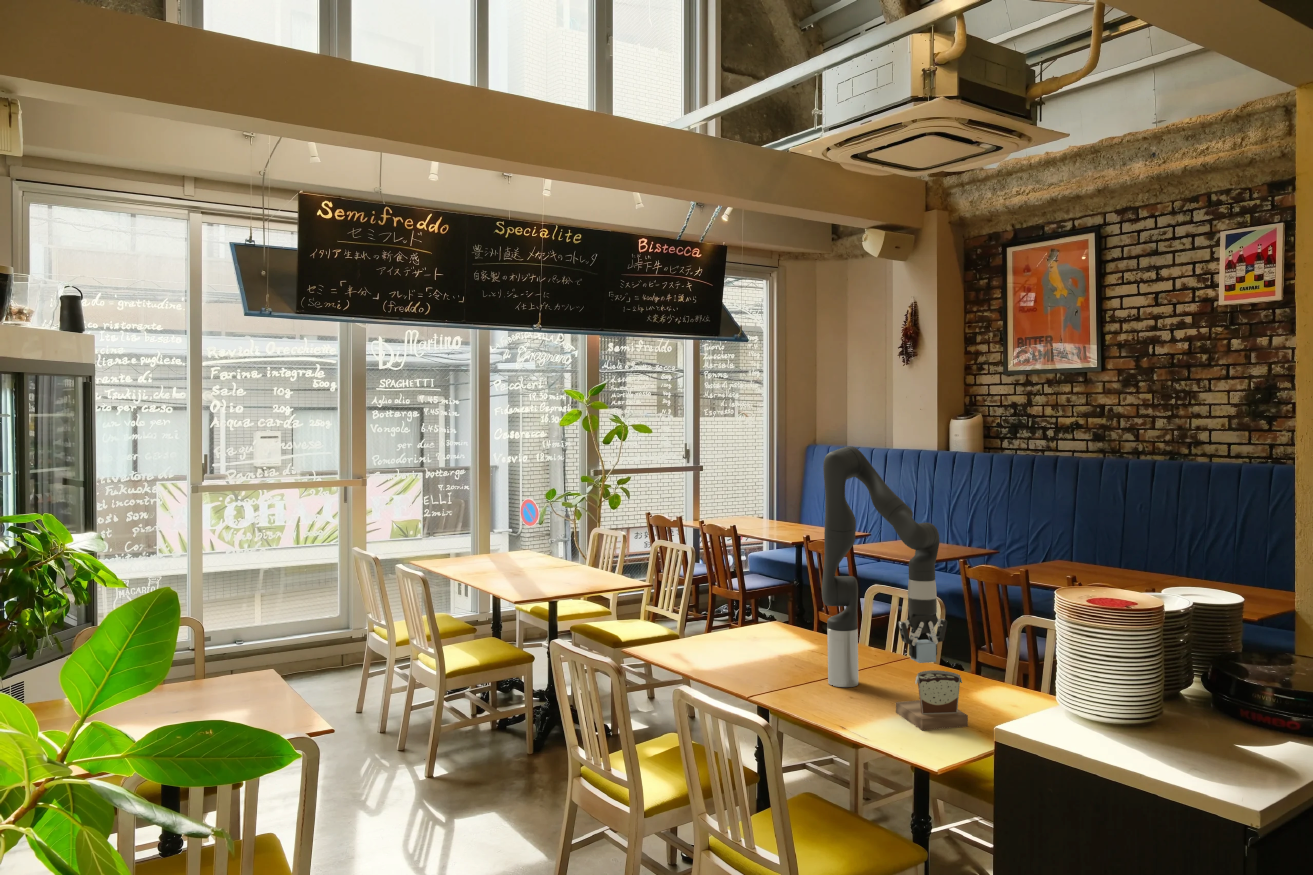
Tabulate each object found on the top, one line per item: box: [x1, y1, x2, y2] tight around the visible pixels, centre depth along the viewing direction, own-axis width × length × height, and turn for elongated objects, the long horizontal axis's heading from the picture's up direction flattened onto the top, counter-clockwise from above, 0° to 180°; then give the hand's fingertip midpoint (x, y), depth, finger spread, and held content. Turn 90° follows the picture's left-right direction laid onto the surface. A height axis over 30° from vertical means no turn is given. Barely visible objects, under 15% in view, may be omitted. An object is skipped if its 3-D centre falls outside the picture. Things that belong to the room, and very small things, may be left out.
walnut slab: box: [895, 699, 969, 731], centre depth 239 cm, size 15×13×3 cm
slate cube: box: [910, 639, 937, 664], centre depth 244 cm, size 5×5×5 cm
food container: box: [914, 669, 963, 714], centre depth 238 cm, size 12×6×10 cm, turn 93°
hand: (923, 657), depth 244 cm, fingers closed on slate cube, 5 cm apart
